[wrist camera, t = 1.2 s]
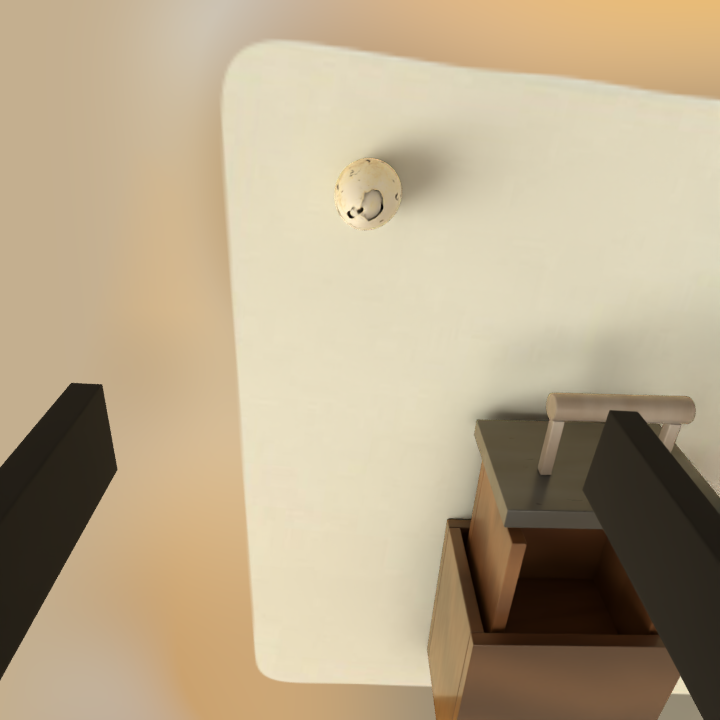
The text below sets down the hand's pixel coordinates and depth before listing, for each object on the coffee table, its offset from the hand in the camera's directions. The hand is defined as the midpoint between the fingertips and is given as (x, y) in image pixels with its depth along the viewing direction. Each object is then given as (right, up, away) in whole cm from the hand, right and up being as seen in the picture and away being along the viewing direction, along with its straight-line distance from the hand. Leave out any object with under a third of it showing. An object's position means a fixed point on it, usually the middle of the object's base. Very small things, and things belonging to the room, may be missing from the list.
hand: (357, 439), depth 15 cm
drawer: (+13, -5, +22) cm, 26 cm away
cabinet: (+12, -16, +28) cm, 35 cm away
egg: (0, +11, +14) cm, 18 cm away
